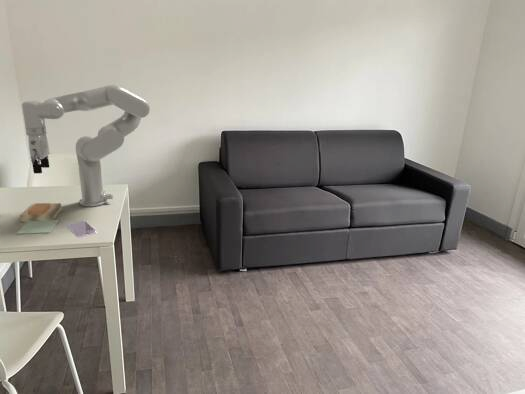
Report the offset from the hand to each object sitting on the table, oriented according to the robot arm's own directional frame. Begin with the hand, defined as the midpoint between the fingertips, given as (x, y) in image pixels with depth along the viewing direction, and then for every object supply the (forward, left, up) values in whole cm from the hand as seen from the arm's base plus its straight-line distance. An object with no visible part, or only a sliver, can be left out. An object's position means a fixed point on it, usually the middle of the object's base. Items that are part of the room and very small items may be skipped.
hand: (41, 170), depth 178 cm
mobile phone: (-20, +24, -19) cm, 37 cm away
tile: (0, +10, -15) cm, 18 cm away
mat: (-3, +21, -18) cm, 28 cm away
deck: (0, +8, -18) cm, 20 cm away
